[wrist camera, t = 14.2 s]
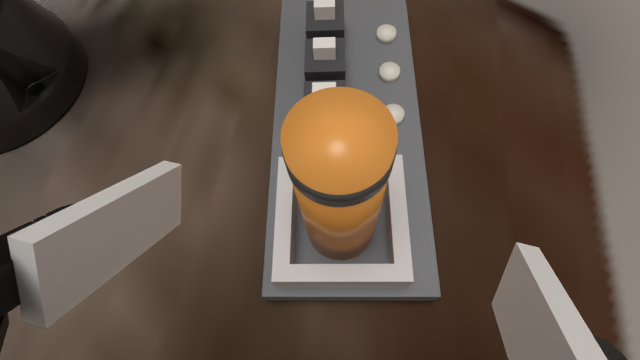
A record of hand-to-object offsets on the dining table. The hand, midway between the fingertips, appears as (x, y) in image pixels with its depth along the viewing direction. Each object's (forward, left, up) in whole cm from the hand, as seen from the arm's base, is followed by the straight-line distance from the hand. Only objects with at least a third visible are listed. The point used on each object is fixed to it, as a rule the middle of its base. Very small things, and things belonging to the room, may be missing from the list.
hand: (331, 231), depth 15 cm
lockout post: (-3, +1, -10) cm, 10 cm away
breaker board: (-11, +5, -12) cm, 17 cm away
